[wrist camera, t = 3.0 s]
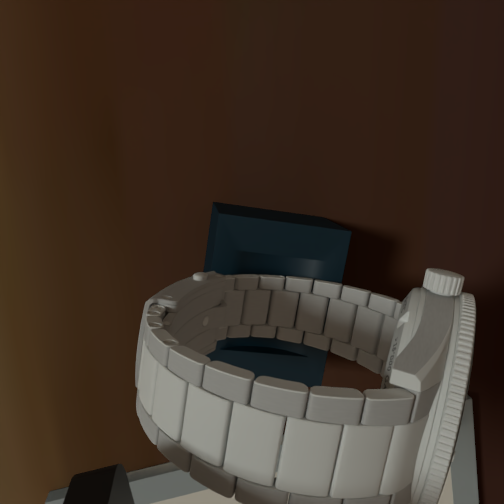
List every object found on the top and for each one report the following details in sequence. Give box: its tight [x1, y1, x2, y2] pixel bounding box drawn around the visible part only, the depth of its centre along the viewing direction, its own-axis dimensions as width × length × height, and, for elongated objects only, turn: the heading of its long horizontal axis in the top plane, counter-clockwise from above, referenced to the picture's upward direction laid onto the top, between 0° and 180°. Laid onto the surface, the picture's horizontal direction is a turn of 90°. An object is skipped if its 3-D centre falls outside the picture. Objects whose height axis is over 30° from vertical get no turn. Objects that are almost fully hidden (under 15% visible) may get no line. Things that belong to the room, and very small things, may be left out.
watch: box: [135, 202, 476, 504], centre depth 13 cm, size 6×8×11 cm
